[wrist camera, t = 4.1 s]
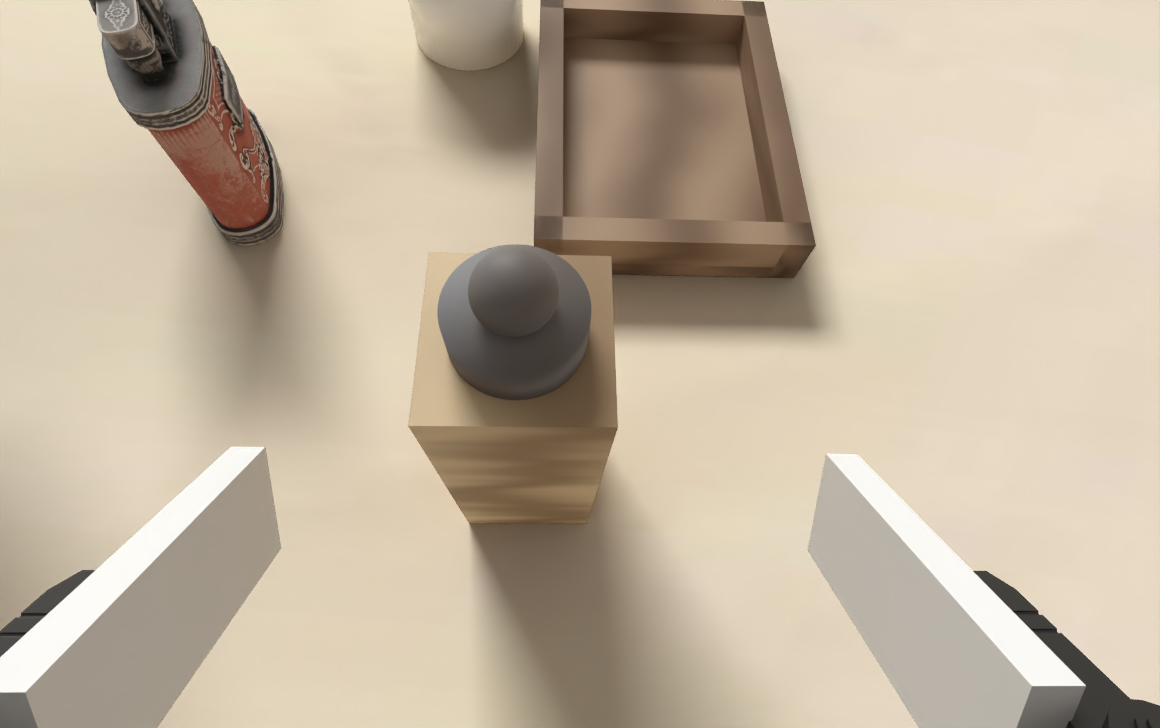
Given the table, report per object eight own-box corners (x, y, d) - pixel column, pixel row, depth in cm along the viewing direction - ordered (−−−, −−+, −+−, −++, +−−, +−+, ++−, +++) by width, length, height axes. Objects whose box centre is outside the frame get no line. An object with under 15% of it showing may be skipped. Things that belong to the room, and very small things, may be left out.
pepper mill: (469, 523, 23) (374, 372, 10) (476, 412, 24) (405, 172, 12) (586, 523, 23) (634, 376, 10) (585, 413, 25) (624, 178, 12)
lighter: (295, 234, 28) (173, 33, 19) (217, 254, 27) (52, 56, 18) (267, 112, 31) (151, -111, 22) (196, 127, 30) (46, -96, 21)
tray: (534, 272, 27) (533, 238, 25) (541, 35, 34) (540, -8, 32) (793, 277, 28) (815, 245, 26) (749, 43, 35) (763, 2, 33)
